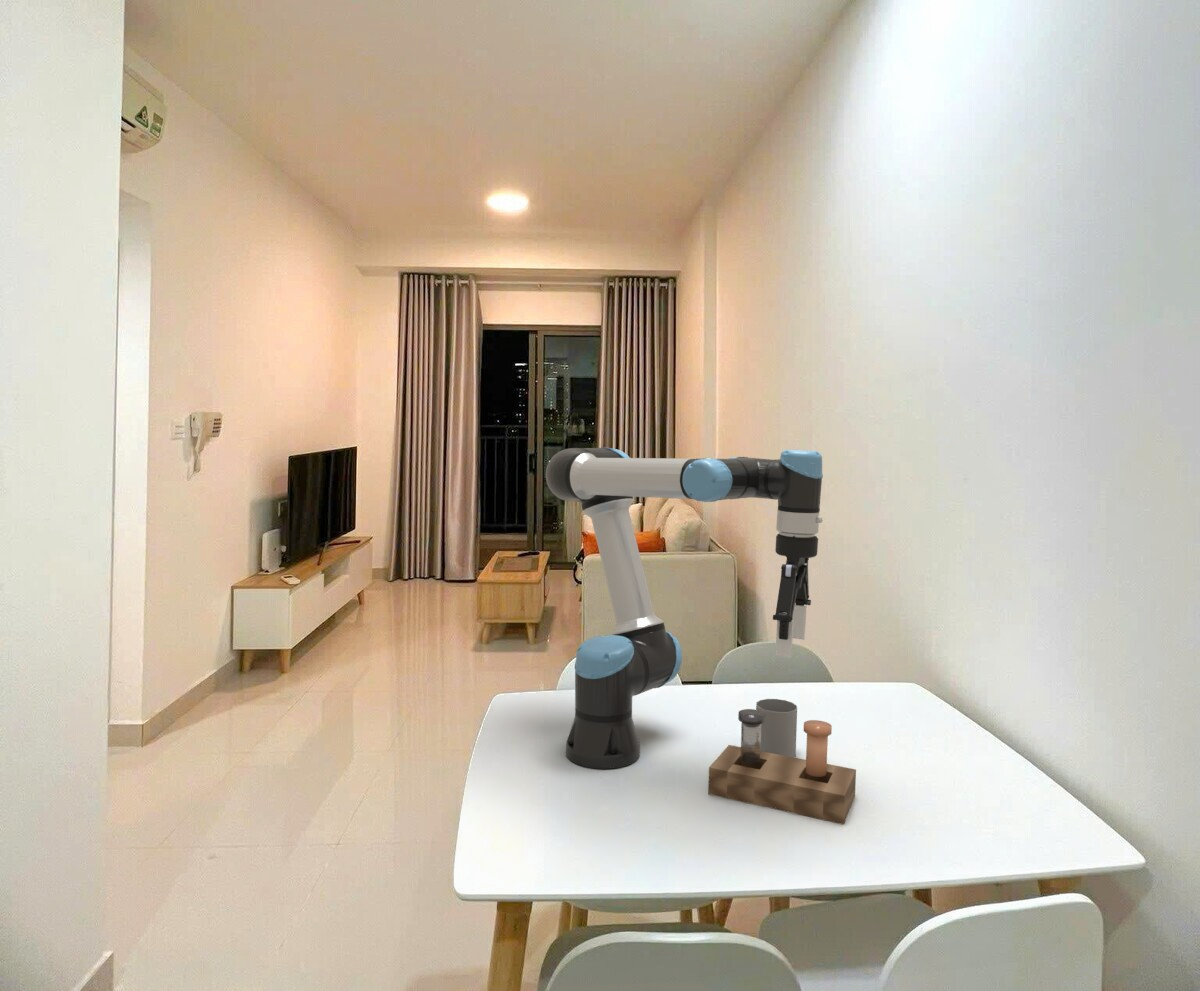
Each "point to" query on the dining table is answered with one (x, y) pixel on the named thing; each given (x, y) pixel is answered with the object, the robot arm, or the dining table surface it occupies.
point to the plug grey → (751, 734)
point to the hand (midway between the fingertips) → (790, 647)
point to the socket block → (783, 785)
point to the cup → (778, 726)
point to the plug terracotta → (817, 747)
